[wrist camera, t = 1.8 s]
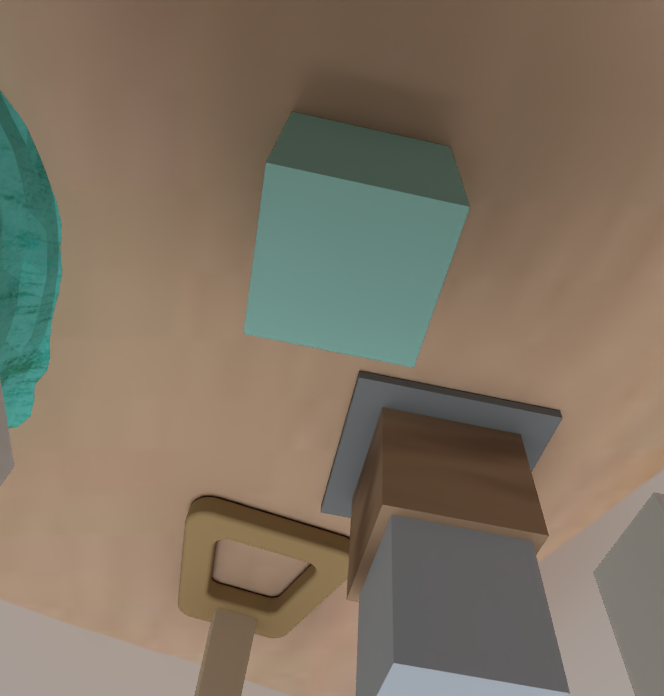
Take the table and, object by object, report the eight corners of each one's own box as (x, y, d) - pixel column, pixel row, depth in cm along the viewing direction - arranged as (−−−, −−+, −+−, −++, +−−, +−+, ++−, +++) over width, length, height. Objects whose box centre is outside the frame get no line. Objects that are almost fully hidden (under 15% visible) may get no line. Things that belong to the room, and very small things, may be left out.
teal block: (291, 111, 22) (265, 162, 17) (450, 146, 22) (470, 207, 17) (270, 255, 25) (243, 333, 20) (407, 284, 25) (413, 367, 20)
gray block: (391, 514, 24) (393, 663, 19) (532, 540, 24) (570, 693, 19) (359, 595, 28) (354, 738, 23) (483, 617, 28) (504, 763, 23)
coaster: (359, 371, 28) (359, 377, 28) (560, 411, 29) (562, 417, 28) (321, 505, 34) (320, 512, 33) (489, 536, 34) (490, 543, 34)
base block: (382, 406, 29) (382, 504, 24) (520, 434, 29) (548, 535, 24) (351, 500, 33) (346, 599, 28) (473, 522, 33) (489, 625, 28)
